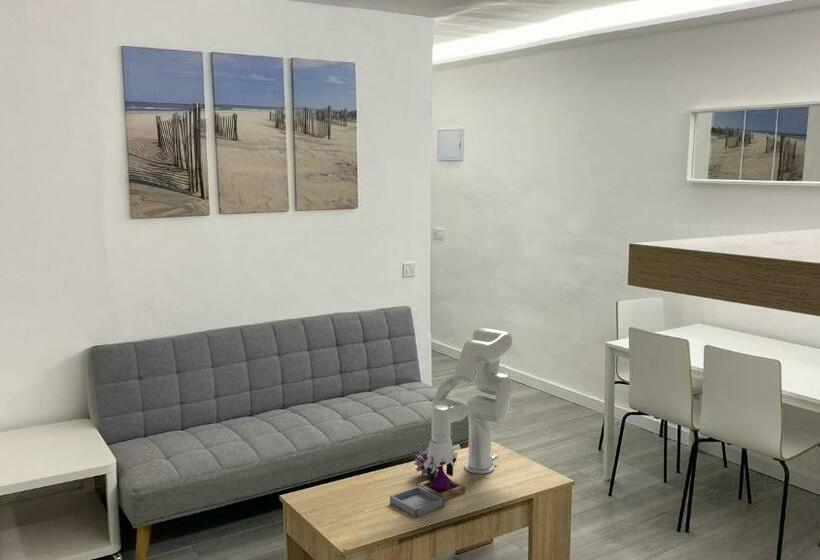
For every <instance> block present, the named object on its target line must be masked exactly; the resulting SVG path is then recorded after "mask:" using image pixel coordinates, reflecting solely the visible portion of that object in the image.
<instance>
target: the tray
mask: <svg viewBox="0 0 820 560" xmlns="http://www.w3.org/2000/svg"><path fill="white" fill-rule="evenodd" d="M389 503H390V505H392V506H394V507H396V508H398V509H399V510H401V511H403V512H404V513H407V514H408V515H410V516H412V517H414V518H420V517H422V516H424V515H426V514H429V513H431V512H433V511H436V510H438V509H439V510H440V509H441V508H444V507H445V500H444V499H443V498H441V497H439V496H437V495H435V494H433V493H431V492H429V491H427V490H425V489H423V488H421V487H419V486H416V485H415V486H414V487H411V488H409V489H406V490H404V491H400V492H398V493H395V494H393V495H390V497H389Z"/></svg>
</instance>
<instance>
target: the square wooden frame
mask: <svg viewBox="0 0 820 560" xmlns="http://www.w3.org/2000/svg"><path fill="white" fill-rule="evenodd" d="M449 479H450V480H451V484H450V486H449V489H448V490H447V491H445V492H442V493H438V492H436V491H434V490H432V489H431V488H430V485H431V482H430V481H429V480H428V479H427V480H425V481H422V482H419V483H417V484H416V485H415V487H416V486H419V487H421V488H423V489H425V490H427V491H429V492H431V493H433V494H435V495H437V496H439V497H441V498H443V499H444V501H447V500H449V499H451V498H454V497H456V496H459V495H462V494H464V493H466V486H465V485H463V484H461V483H460V482H457V481H455V480H453V479H451V478H449Z"/></svg>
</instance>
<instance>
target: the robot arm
mask: <svg viewBox="0 0 820 560" xmlns="http://www.w3.org/2000/svg"><path fill="white" fill-rule="evenodd" d="M512 343H513V337H512V335H511V334H510V333H509V332H507V331H505V330H504V331H503V330H497V329H492V328H487V327H486V328H484V327H480V328H476V329H475V330H473V334H472V339H469V340H467V341H465V343H464V344H463V346H462V350H461V353H460V355H459V358H458V360H457V363H456V366H455V369H454V372H453V373H452V374H451V375H450V376H448V377H447V378H446V379H445V380H443V382H442V383H441V384H440V385H439V387H438V388H437V390H436V393H435V396H434V399H433V402H432V405H431V406H432V407H431V440H429V444H428V447H427V448H428V459H427V460H426V461H425V462H424V464H423V465H424V467H425V469H426V470H427V471H428V476H427V477H428V478H427V480H429V481H430V482H432V483H434V482H435V476H436V475H435V473H434V471H435V469H436V467H440V466H443V467H444V466H446V473H445V474H446V475H447V476H450V477H454V467H455V462H456V461H457V458H458V456H459V455H458V454H459V453H458V452H456V451H454V445H453V441H452V434H453V432H452V423H456V422H458V423H459V422H461V421H463V420H464V419H465V418H466V417H467V419H468V457H467V458H468V460H467V461H466V462H465V463H464V469H465V470H466V471H468V472H470V473H472V474H483V475H484V474H489V473H491V472H494V470H495V464H494V463H493V462H494V461H496V460H499V455H497V454H495V455H492V426H491V423H494V424H503V422H505V420H506V419H507V416H508V412H509V408H510V403H511V399H512V398H511V397H512V393H513V380H512V378H511V377H510V376H509V374H506V373H501V372H499V369H500V367H499V366H500V359H501V357H503V356H504V355H505V354H506V353H507V352H508V351H509V350H510V349H511V346H512ZM474 381H475V385H474V386H475V389H476V390H477V392H479V393H481V394H482V393H483V394H486V395H487V394H488V395H491V396H495V398H491V397H488V396H484V395H472V396H471V397H470V398H469V399H467V404H465V403H463V402H460V401H456V400H453V399H448V396H449V394H450V393H451V392H452V390H454V389H455V388H458V387H460V386H464V385H466V384H470V383H473V382H474ZM490 422H491V423H490ZM442 459H443V460H442ZM442 462H445V464H443V465H440V463H442ZM433 464H434V465H433ZM432 466H433V468H432ZM431 468H432V469H431Z"/></svg>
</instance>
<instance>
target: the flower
mask: <svg viewBox="0 0 820 560" xmlns="http://www.w3.org/2000/svg"><path fill="white" fill-rule="evenodd" d="M428 448H429V447H426V448H425V450H422V449H420V451H419V452H418V454H415V457H416V458H415V459H414V463H413V465H414V466H415V465H416V466H417V467H416V468H415V470H416V471H417V472H418V473H419V472H421V474H420V475H421V476H424V475H426V477H428V471H427V470H426V469H425V467H424V465H423V464H424V462H425V461H426V460H427V459H428ZM433 465H434V464H433ZM432 468H433V466H432ZM432 468H431V469H432ZM437 472H438V467H436V469H435V471H434V473H435V476H436V474H437Z"/></svg>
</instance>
